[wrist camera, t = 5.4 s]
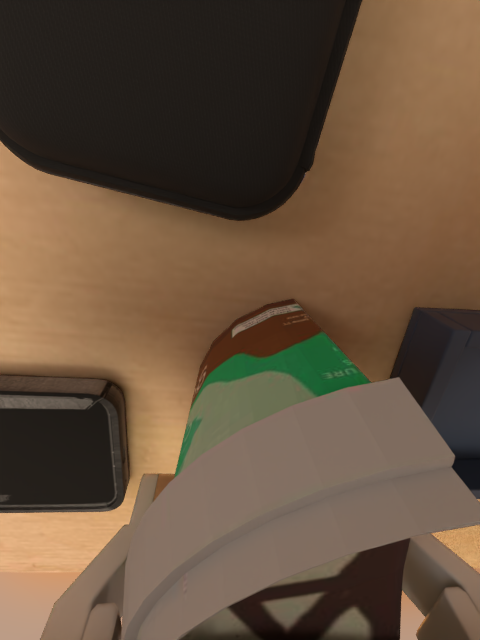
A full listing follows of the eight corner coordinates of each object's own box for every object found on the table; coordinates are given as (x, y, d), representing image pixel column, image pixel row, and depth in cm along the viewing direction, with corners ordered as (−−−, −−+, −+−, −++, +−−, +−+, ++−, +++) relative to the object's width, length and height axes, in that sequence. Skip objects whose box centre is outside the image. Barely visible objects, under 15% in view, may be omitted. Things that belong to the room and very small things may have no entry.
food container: (145, 283, 12) (-73, 570, 3) (292, 265, 12) (505, 488, 3) (196, 482, 17) (172, 811, 8) (299, 468, 17) (388, 777, 8)
